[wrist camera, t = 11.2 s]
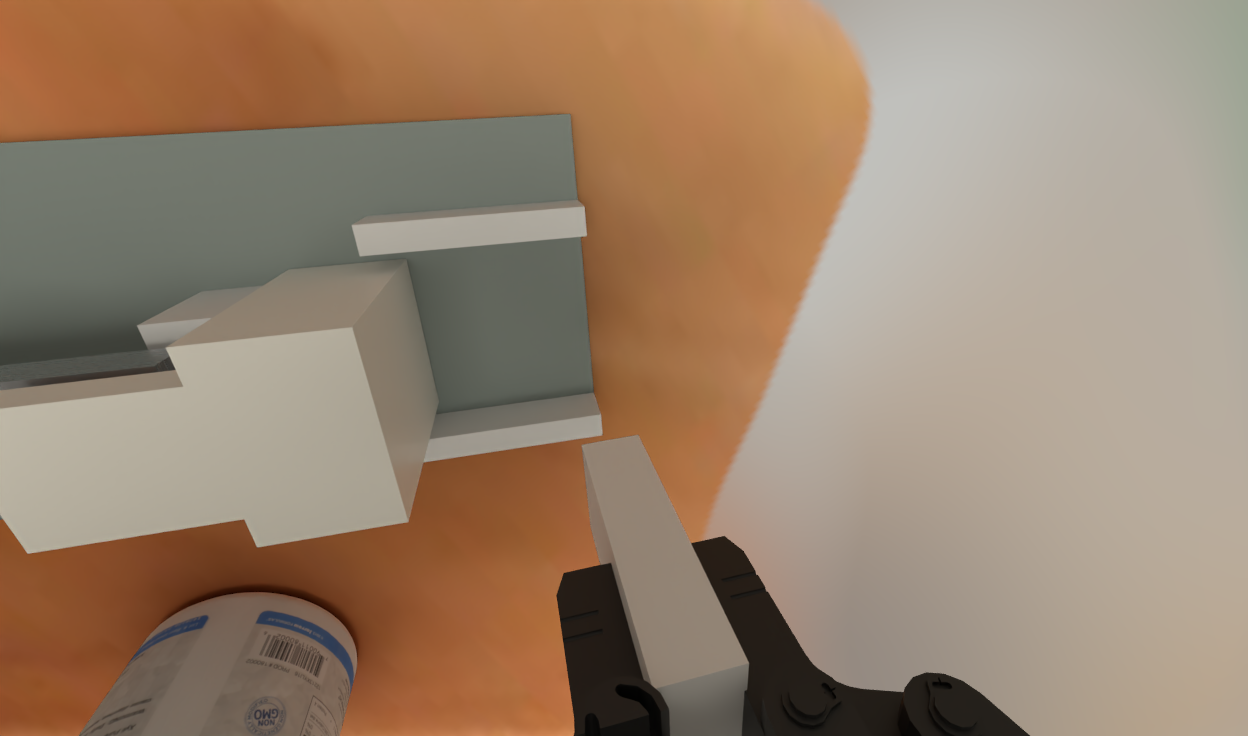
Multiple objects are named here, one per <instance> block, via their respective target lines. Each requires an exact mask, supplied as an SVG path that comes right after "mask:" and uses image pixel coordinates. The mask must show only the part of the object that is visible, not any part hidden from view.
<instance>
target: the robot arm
mask: <svg viewBox="0 0 1248 736" xmlns="http://www.w3.org/2000/svg"><path fill="white" fill-rule="evenodd" d="M582 452H583V461H584V470H585V479H586V489H587V498H588V507H589V516H590V525H591V530H592V534H593V538H594V542H595V546H596V550H597V554H598V558H599V562H600V565H598V566H594V567H589V568H585V569H580V570H576V571H571V572H567V573H564V574H563V577H562V580H561V583H560V587H559V590H558V593H557V601H558V608H559V615H560V622H561V629H562V636H563V643H564V650H565V657H566V664H567V671H568V678H569V685H570V692H571V699H572V706H573V713H574V726H575V733H574V736H1030V735H1028V734H1027V733H1026V732H1025V731H1024V730H1023V729H1021V728H1020V727H1019V726H1018V725H1017V724H1015V722H1013V721H1012V720H1011V719H1010V718H1009V717H1008V716H1007V715H1005V714H1004V713H1003V712H1002V711H1001V710H1000V709H998V708H997V707H996V706H995V705H994V704H992V703H991V702H990V701H989V700H988V699H987V698H986V697H985V696H983V695H982V694H981V693H980V692H978V691H977V690H975V689H974V688H972V687H971V686H969V685H968V684H966V683H965V682H963V681H961V680H959V679H956V678H954V677H951V676H948V675H946V674H940V673H924V674H921V675H918V676H915V677H913V678H912V679H911V681H910V682H909V683H908V684H907V686H906V687H905V689H904V692H893V691H880V690H867V689H859V688H854V687H849V686H846V685H844V684H841V683H839V682H836V681H835V680H834V679H833V678H832V677H830V676H829V675H827V674H825V673H824V672H822V671H821V670H819V669H818V668H817V667H815V666H814V665H813V664H812V662H811V661H810V660H809V658H808V657H807V656H806V654H805V653H804V651H803V649H802V648H801V647H800V644H799V643H798V641H797V639H796V638H795V636H794V634H793V633H792V631H791V629H790V628H789V626H788V624H787V623H786V621H785V619H784V618H783V616H782V614H781V613H780V611H779V609H778V608H777V606H776V604H775V603H774V601H773V599H772V598H771V596H770V595H769V593H768V592H766V589H765V586H764V584H763V583H762V581H761V579H760V578H759V576H758V575H756V572H755V570H754V568H753V566H752V565H751V563H750V561H749V559H748V558H747V556H746V555H745V553H744V551H743V550H741V549H740V548H739V547H737V546H736V545H735V544H734V543H732V542H731V541H730V540H728V539H727V538H726V537H725V536H722V537H718V538H713V539H709V540H704V541H700V542H695V543H691V542H690V540H689V538H688V536H687V534H686V532H685V530H684V528H683V526H682V524H681V522H680V520H679V518H678V516H677V514H676V511H675V509H674V507H673V505H672V503H671V501H670V499H669V497H668V495H667V493H666V491H665V489H664V487H663V485H662V483H661V481H660V479H659V476H658V474H657V472H656V470H655V468H654V466H653V464H652V462H651V460H650V458H649V456H648V454H647V452H646V450H645V448H644V446H643V443H642V441H641V439H640V437H639V435H634V436H629V437H623V438H617V439H612V440H606V441H600V442H595V443H589V444H584V445H582Z"/></svg>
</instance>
